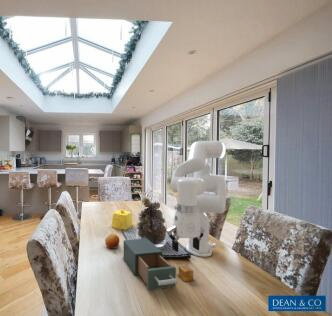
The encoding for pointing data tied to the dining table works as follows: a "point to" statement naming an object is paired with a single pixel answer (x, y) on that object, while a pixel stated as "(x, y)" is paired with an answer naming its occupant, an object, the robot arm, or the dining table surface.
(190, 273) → the block
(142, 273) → the drawer
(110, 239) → the fruit
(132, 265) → the cabinet
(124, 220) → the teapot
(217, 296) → the dining table surface
